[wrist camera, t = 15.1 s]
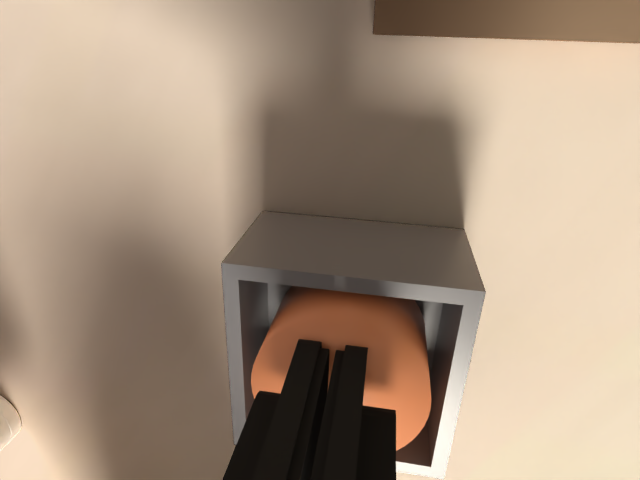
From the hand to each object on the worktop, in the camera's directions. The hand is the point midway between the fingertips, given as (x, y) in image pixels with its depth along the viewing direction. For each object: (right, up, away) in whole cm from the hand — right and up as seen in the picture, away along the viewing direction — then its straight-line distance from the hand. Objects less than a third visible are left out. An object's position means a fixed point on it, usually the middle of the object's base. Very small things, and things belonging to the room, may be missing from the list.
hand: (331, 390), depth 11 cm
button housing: (+1, +2, +4) cm, 4 cm away
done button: (+1, +1, +2) cm, 3 cm away
